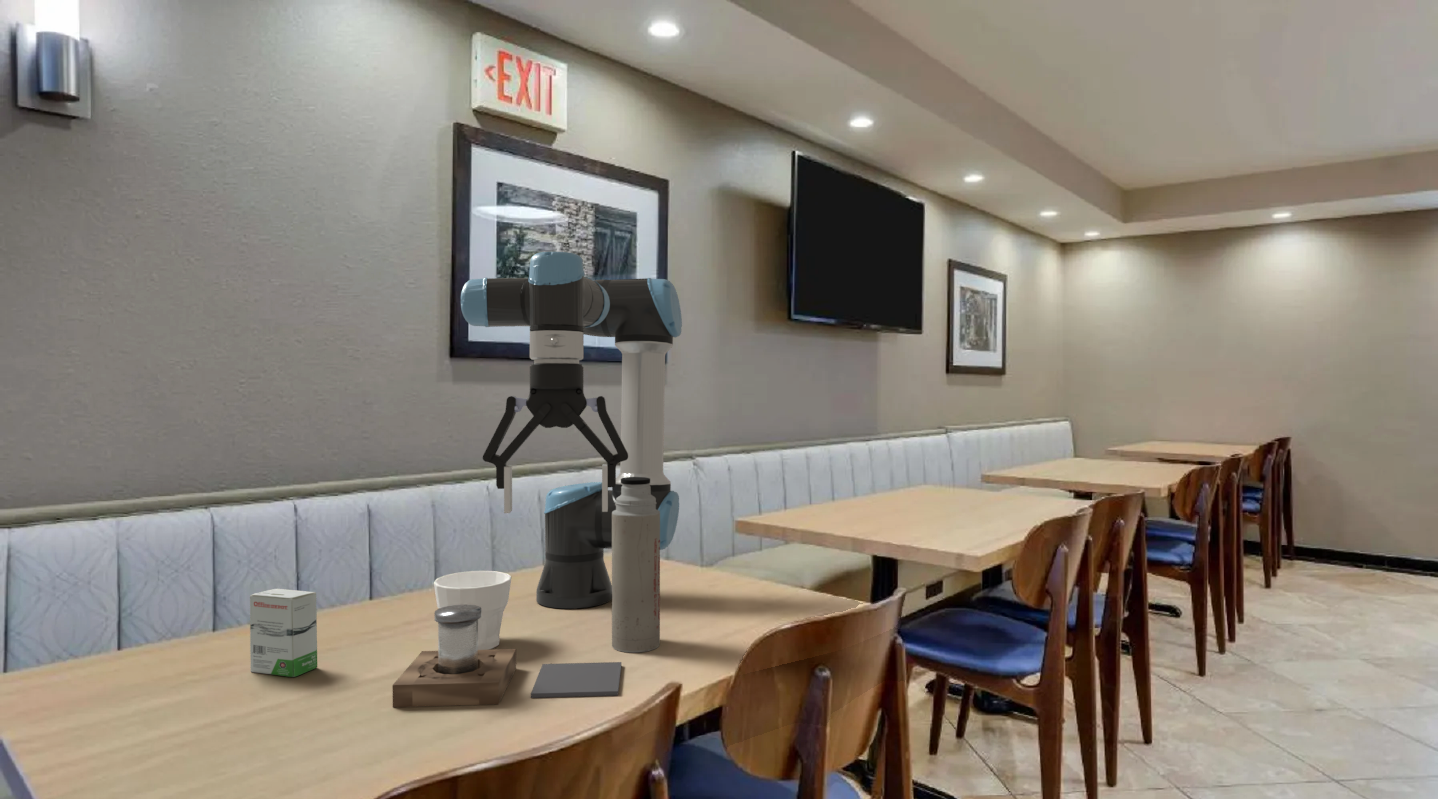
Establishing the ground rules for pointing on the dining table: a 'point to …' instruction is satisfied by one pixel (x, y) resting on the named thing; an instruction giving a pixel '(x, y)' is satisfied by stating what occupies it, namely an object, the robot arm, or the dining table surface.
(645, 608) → the thermos bottle
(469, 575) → the cup
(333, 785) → the dining table surface
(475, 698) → the block
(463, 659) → the glass jar
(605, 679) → the mat
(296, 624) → the ink box
